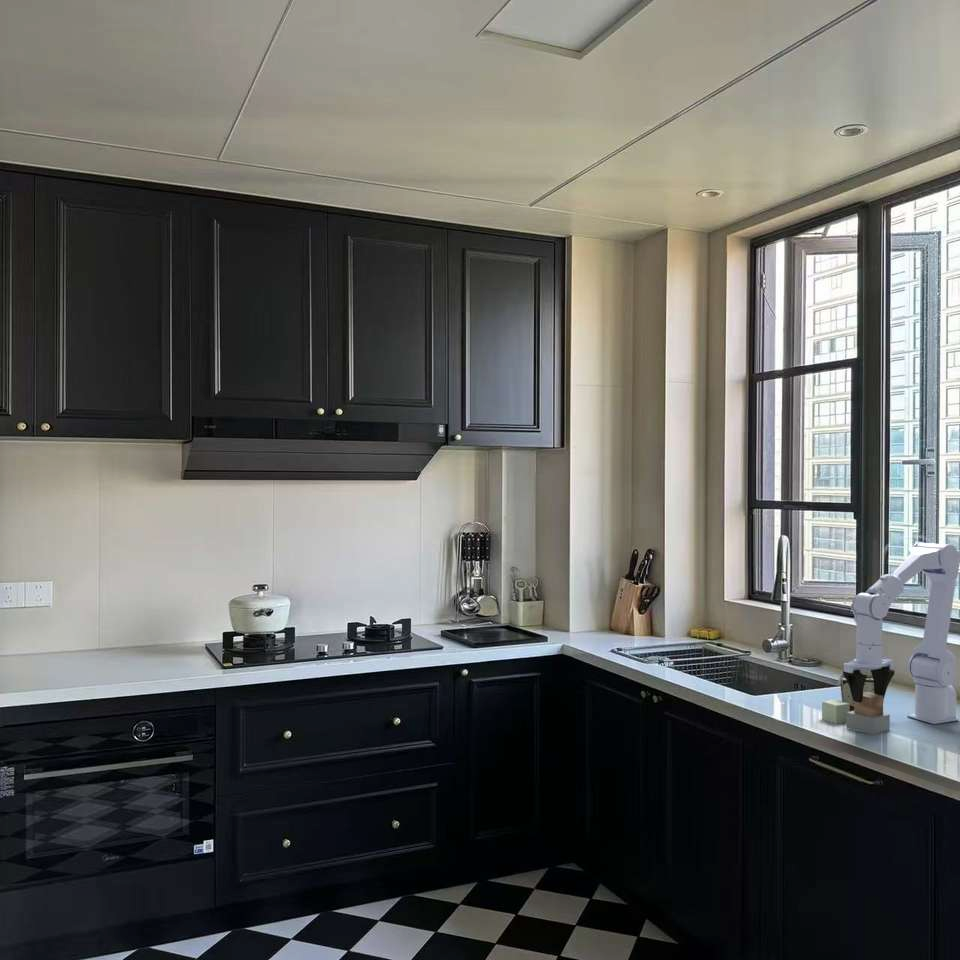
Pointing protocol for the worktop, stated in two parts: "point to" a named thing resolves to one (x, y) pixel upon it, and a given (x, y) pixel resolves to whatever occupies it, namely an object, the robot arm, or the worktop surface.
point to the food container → (847, 692)
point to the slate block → (868, 722)
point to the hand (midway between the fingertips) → (868, 700)
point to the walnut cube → (869, 705)
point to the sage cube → (835, 711)
